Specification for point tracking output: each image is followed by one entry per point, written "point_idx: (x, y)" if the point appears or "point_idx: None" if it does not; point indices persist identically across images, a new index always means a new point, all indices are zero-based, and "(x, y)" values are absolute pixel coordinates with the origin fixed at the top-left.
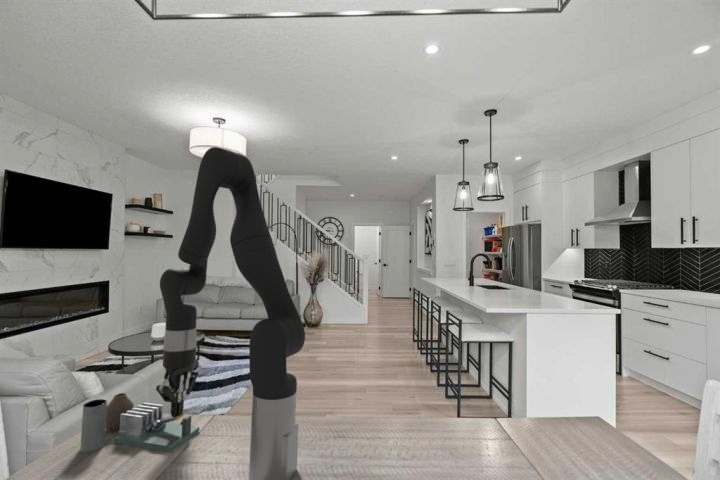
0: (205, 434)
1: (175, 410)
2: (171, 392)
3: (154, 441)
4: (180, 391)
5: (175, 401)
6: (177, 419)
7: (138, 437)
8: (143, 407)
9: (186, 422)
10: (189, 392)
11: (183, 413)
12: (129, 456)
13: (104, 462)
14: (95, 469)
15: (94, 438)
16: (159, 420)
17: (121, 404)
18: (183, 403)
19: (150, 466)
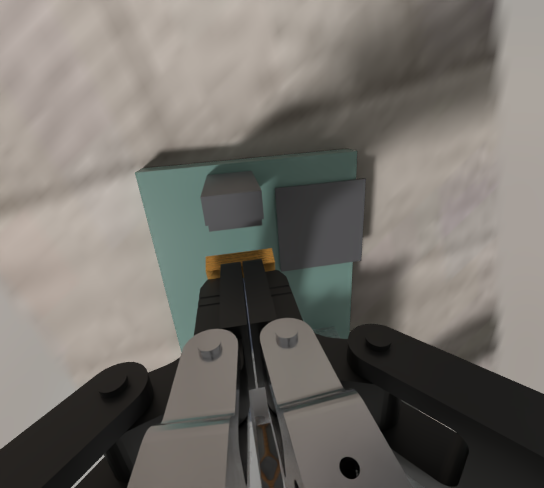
0: (147, 111)
1: (291, 293)
2: (539, 439)
3: (344, 256)
4: (349, 409)
5: (355, 329)
6: (271, 249)
7: (335, 331)
8: (259, 474)
9: (253, 185)
10: (115, 378)
11: (208, 266)
12: (403, 272)
13: (443, 307)
14: (478, 296)
15: None
16: (252, 352)
17: None
18: (198, 318)
19: (454, 146)
